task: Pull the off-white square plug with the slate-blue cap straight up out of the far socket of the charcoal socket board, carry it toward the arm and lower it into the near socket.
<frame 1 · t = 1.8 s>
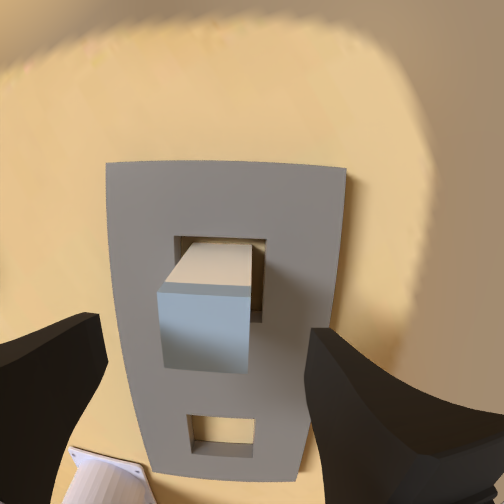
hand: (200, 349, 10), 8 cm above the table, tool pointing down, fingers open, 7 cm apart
plug: (221, 271, 18), resting in socket board
socket board: (221, 361, 19), on the table
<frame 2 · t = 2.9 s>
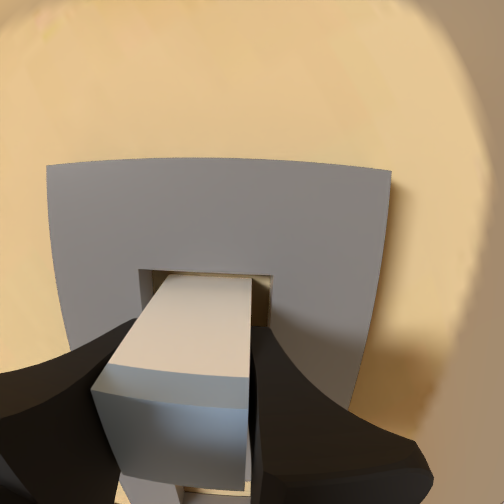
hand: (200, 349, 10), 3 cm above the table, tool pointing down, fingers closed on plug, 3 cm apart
plug: (210, 313, 13), resting in socket board, touching gripper
socket board: (213, 418, 14), on the table
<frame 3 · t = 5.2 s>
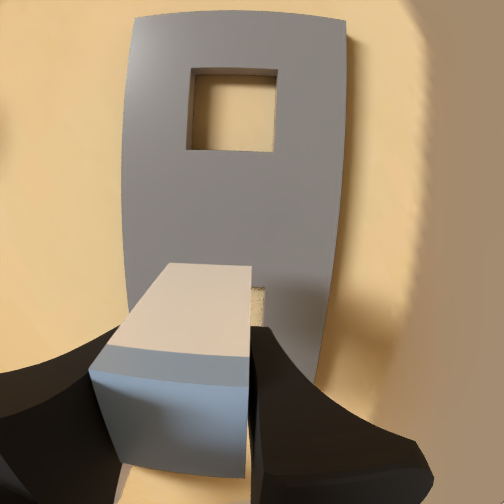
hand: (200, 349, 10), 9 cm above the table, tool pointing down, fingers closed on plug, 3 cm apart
plug: (210, 302, 13), point 7 cm above the table, touching gripper
socket board: (228, 215, 18), on the table
when the fingers open (3 cm above the table, at t = 7.3 s): plug stays where it is, resting in socket board.
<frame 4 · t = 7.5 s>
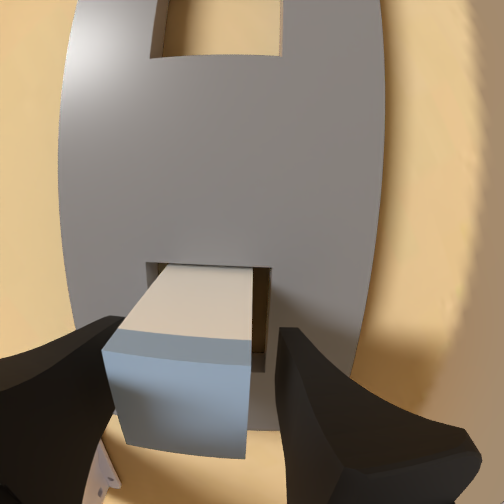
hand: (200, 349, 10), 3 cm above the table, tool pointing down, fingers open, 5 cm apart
plug: (212, 295, 13), resting in socket board
socket board: (214, 158, 12), on the table
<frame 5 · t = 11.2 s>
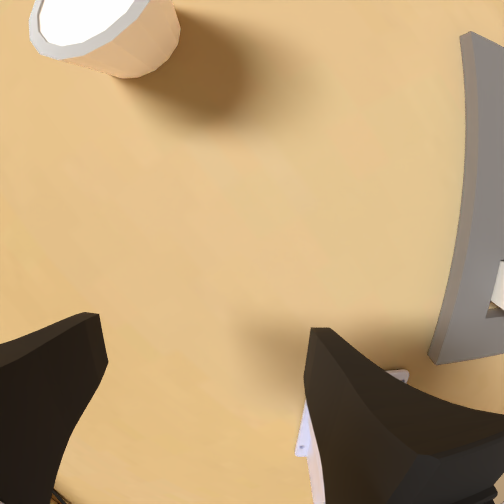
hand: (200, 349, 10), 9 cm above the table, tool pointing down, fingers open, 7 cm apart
plug: (501, 277, 19), resting in socket board
white round cup: (138, 39, 15), on the table
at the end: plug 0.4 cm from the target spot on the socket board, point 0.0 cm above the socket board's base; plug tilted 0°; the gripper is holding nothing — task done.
